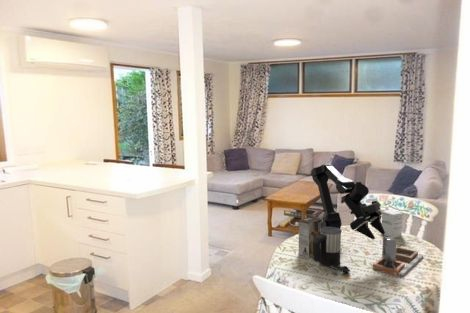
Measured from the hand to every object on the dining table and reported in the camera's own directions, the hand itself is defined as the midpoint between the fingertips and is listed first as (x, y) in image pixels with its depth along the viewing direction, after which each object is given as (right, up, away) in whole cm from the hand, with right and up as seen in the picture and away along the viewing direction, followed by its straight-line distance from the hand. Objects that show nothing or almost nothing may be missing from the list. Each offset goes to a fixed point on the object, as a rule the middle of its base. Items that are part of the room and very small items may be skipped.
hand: (379, 236), depth 153 cm
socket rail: (+10, -12, +4) cm, 16 cm away
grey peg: (+3, -13, -2) cm, 13 cm away
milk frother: (-19, -13, 0) cm, 23 cm away
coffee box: (-26, -11, +15) cm, 32 cm away
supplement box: (+21, -8, +38) cm, 45 cm away
